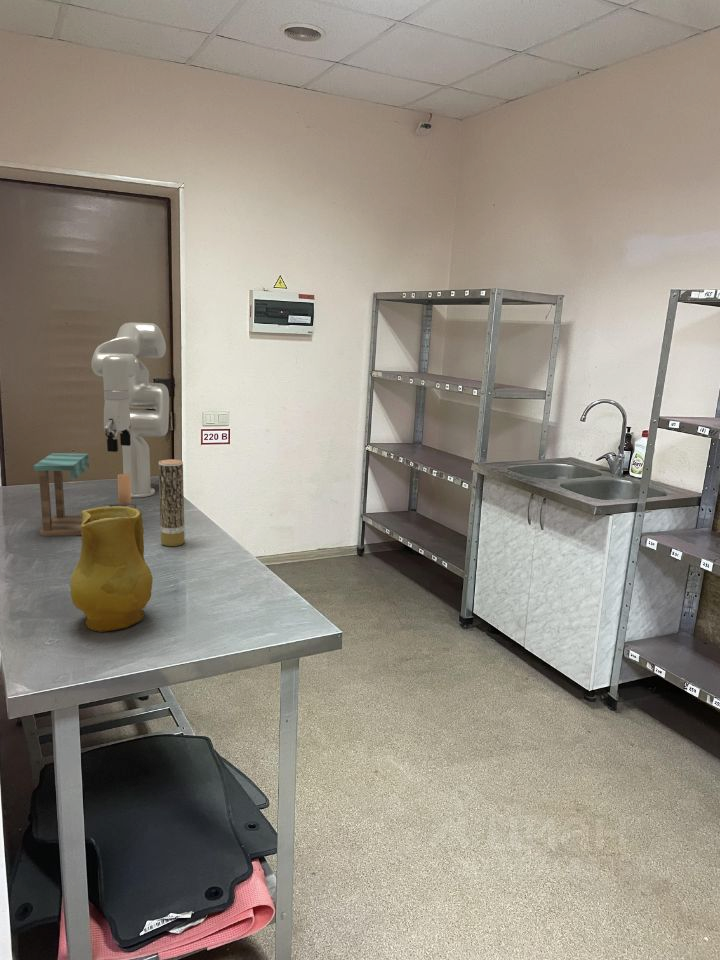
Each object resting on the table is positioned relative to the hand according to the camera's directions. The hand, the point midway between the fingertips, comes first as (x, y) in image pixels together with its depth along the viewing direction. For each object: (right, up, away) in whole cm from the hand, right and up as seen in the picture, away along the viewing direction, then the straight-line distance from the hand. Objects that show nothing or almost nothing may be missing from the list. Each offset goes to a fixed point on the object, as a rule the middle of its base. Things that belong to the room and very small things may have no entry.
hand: (119, 448), depth 219 cm
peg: (-1, -22, +9) cm, 24 cm away
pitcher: (+23, -42, -67) cm, 82 cm away
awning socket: (-7, -25, -4) cm, 27 cm away
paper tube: (+22, -29, -16) cm, 40 cm away
